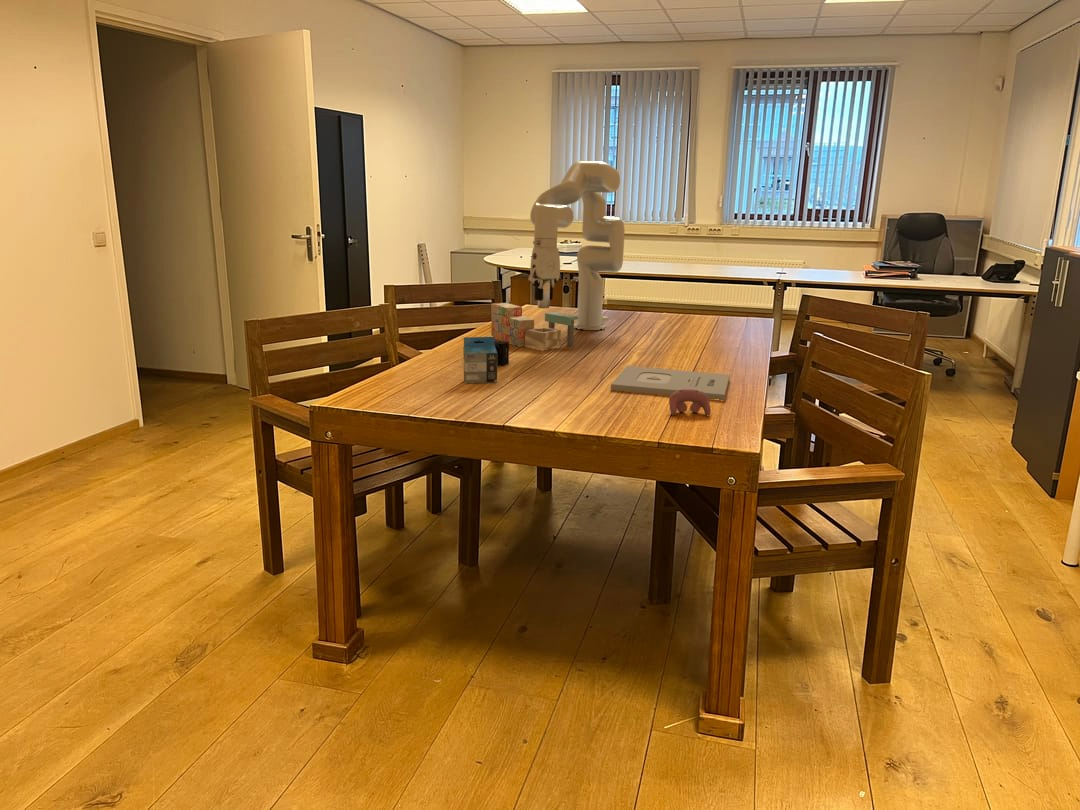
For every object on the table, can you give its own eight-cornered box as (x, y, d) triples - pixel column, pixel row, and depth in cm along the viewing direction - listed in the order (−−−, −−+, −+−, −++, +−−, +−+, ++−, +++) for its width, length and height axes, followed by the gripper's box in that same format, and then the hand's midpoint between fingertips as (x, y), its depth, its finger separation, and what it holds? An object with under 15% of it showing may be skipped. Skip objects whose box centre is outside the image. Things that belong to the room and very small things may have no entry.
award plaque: (723, 403, 202) (724, 394, 202) (610, 392, 210) (610, 383, 210) (729, 381, 225) (729, 374, 225) (626, 372, 233) (627, 365, 232)
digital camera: (470, 363, 238) (470, 341, 236) (478, 360, 242) (478, 338, 241) (500, 367, 234) (501, 344, 232) (508, 364, 239) (509, 341, 237)
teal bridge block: (552, 340, 278) (552, 312, 275) (577, 345, 270) (578, 316, 267) (544, 341, 275) (545, 313, 273) (569, 346, 267) (570, 317, 265)
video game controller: (707, 418, 191) (706, 391, 193) (712, 415, 187) (711, 387, 188) (667, 418, 191) (666, 390, 192) (671, 415, 186) (670, 386, 188)
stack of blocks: (533, 346, 267) (534, 310, 263) (517, 347, 264) (518, 311, 260) (506, 335, 285) (506, 302, 281) (490, 336, 282) (491, 302, 278)
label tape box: (465, 384, 212) (465, 339, 209) (463, 380, 216) (463, 337, 213) (497, 383, 215) (497, 339, 211) (494, 379, 218) (494, 336, 215)
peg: (551, 307, 260) (552, 277, 258) (543, 308, 258) (544, 278, 255) (543, 306, 263) (544, 276, 261) (534, 307, 260) (535, 277, 258)
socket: (543, 344, 270) (543, 327, 269) (560, 347, 265) (560, 330, 263) (525, 347, 264) (525, 329, 262) (541, 351, 259) (542, 333, 257)
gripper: (535, 244, 247) (533, 302, 251) (571, 244, 258) (568, 299, 263) (519, 243, 252) (517, 300, 256) (554, 242, 263) (552, 297, 268)
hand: (543, 299), depth 260 cm, fingers closed on peg, 4 cm apart
